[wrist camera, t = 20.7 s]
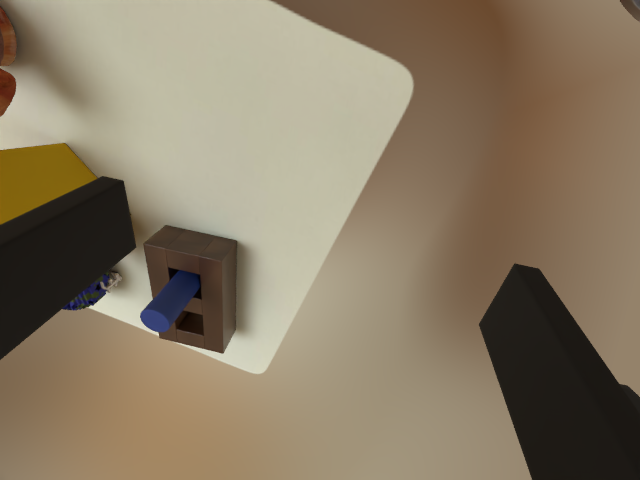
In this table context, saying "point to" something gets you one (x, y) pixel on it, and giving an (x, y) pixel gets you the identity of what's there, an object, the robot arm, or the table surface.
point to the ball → (94, 292)
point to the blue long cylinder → (170, 301)
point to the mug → (6, 61)
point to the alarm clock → (38, 177)
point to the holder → (216, 284)
